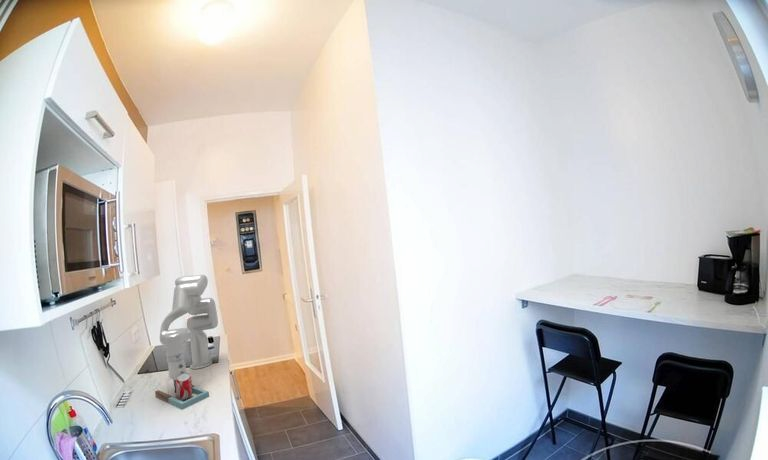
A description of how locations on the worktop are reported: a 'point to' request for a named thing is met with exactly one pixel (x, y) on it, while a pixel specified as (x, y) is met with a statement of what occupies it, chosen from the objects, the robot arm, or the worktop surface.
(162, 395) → the channel
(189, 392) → the soda can
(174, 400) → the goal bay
